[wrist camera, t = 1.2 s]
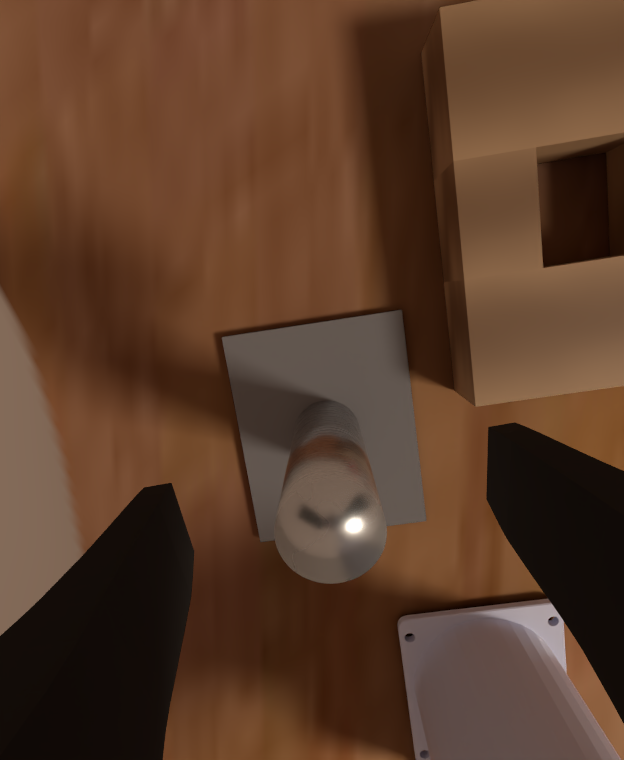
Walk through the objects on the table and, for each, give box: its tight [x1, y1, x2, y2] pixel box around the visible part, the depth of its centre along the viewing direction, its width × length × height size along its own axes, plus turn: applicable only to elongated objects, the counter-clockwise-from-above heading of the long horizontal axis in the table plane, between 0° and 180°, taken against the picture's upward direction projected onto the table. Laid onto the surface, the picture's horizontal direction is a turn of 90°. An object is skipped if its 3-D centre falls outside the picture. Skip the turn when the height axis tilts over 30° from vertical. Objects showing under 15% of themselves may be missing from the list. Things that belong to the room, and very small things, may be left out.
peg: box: [274, 400, 387, 584], centre depth 17 cm, size 3×3×9 cm
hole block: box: [421, 0, 624, 407], centre depth 18 cm, size 14×10×3 cm
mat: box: [222, 310, 426, 542], centre depth 21 cm, size 10×8×1 cm
